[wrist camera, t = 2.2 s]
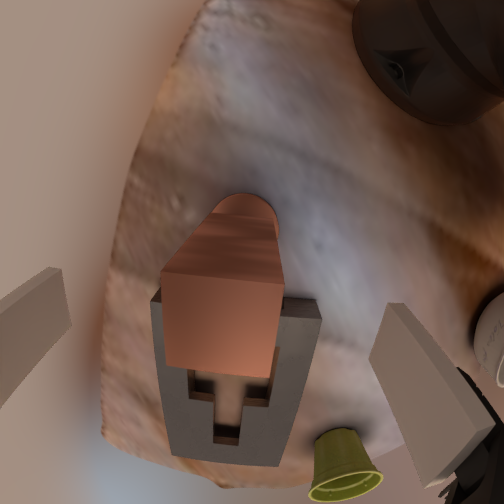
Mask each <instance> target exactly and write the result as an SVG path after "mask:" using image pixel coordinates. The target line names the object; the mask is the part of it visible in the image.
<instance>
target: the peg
mask: <svg viewBox="0 0 504 504" xmlns="http://www.w3.org/2000/svg"><path fill="white" fill-rule="evenodd" d="M278 235H279V226H278V221H277V217H276V214H275V212H274V210H273V209H272V207H271V206H270V205H269V204H268V203H267V202H266V201H265V200H264V199H262V198H261V197H259V196H256V195H253V194H249V193H238V194H234V195H231V196H228V197H227V198H225V199H223V200H222V201H221V202H220V203H219V204H218V205H217V206H216V207H215V208H214V210H213V211H212V212H211V213H210V214H209V215H208V216H207V217H206V218H205V220H204V221H203V222H202V223H201V224H200V225H199V226H198V228H197V229H196V230H195V231H194V232H193V233H192V235H191V236H190V237H189V238H188V239H187V240H186V242H185V243H184V244H183V245H182V246H181V247H180V249H179V250H178V251H177V252H176V253H175V255H174V256H173V257H172V258H171V259H170V261H169V262H168V263H167V264H166V265H165V267H164V268H163V269H162V270H161V297H162V316H163V331H164V344H165V355H166V365H167V366H173V367H179V368H186V369H192V370H199V371H206V372H214V373H222V374H231V375H241V376H252V377H265V378H269V376H270V371H271V365H272V360H273V354H274V348H275V342H276V336H277V330H278V324H279V318H280V312H281V305H282V299H283V292H284V286H285V283H284V277H283V272H282V266H281V260H280V254H279V249H278V243H277V239H278Z"/></svg>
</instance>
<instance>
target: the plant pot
mask: <svg viewBox="0 0 504 504" xmlns="http://www.w3.org/2000/svg"><path fill="white" fill-rule="evenodd" d="M382 480H383V474H382V473H381V472H380V471H378V470H377V469H376V467H375V466H374V465H373V464H372V462H371V460H370V458H369V456H368V454H367V452H366V450H365V448H364V446H363V444H362V442H361V440H360V438H359V436H358V434H357V432H356V431H355V430H348V429H346V428H339V429H335V430H331V431H328V432H326V433H324V434H323V435H322V436H321V437H320V438H319V439H318V440H316V441H315V457H314V480H313V482H312V486H311V489H310V490H309V493H308V496H309V498H310V499H312V500H314V501H318V502H336V501H343V500H347V499H351V498H354V497H357V496H360V495H362V494H365V493H367V492H368V491H370V490H372V489H374V488H375V487H376V486H378V485H379V484H380V483H381V481H382Z"/></svg>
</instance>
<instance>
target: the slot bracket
mask: <svg viewBox="0 0 504 504" xmlns="http://www.w3.org/2000/svg"><path fill="white" fill-rule="evenodd" d="M150 308H151V320H152V331H153V341H154V351H155V359H156V367H157V375H158V382H159V388H160V395H161V401H162V407H163V413H164V419H165V424H166V429H167V434H168V439H169V444H170V449H171V453H172V455H174V456H179V457H185V458H190V459H196V460H203V461H210V462H218V463H227V464H237V465H250V466H271V467H278V466H279V463H280V460H281V458H282V455H283V452H284V449H285V446H286V443H287V440H288V438H289V435H290V432H291V429H292V426H293V422H294V419H295V416H296V413H297V410H298V407H299V403H300V400H301V397H302V393H303V390H304V387H305V383H306V380H307V376H308V373H309V369H310V365H311V362H312V358H313V354H314V350H315V346H316V342H317V339H318V335H319V330H320V326H321V322H322V317H321V314H320V311H319V308H318V305H317V303H316V300H312V299H299V298H287V297H283V300H282V306H281V312H280V318H279V324H278V330H277V336H276V342H275V349H274V355H273V360H272V366H271V372H270V377H269V383H268V388H267V393H266V399H257V398H245V397H244V401H243V410H242V418H241V426H240V435H239V439H238V438H228V437H219V436H214V411H215V394H209V393H202V392H195V370H192V369H186V368H179V367H173V366H167V365H166V355H165V344H164V331H163V316H162V297H161V287H160V288H159V290H158V291H157V292H156V294H155V295H154V297H153V298H152V299H151V301H150Z"/></svg>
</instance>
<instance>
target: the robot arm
mask: <svg viewBox="0 0 504 504" xmlns="http://www.w3.org/2000/svg"><path fill="white" fill-rule="evenodd" d="M352 29H353V37H354V42H355V45H356V48H357V51H358V54H359V56H360V58H361V60H362V62H363V64H364V66H365V68H366V70H367V71H368V73H369V74H370V76H371V77H372V79H373V80H374V82H375V83H376V84H377V85H378V87H379V88H380V89H381V90H382V91H383V92H384V93H385V94H386V95H387V96H388V97H389V98H390V99H391V100H392V101H393V102H394V103H395V104H396V105H398V106H399V107H400V108H401V109H403V110H404V111H406V112H407V113H409V114H411V115H412V116H414V117H416V118H418V119H420V120H422V121H425V122H428V123H431V124H435V125H443V126H448V125H461V124H467V123H470V122H473V121H475V120H477V119H479V118H480V117H482V116H483V115H484V114H485V113H486V112H488V111H489V110H491V109H493V108H494V107H496V106H497V105H498V104H500V103H501V102H503V101H504V0H360V1H359V3H358V4H357V6H356V8H355V11H354V15H353V22H352ZM71 326H72V324H71V319H70V315H69V310H68V305H67V300H66V294H65V289H64V283H63V277H62V270H61V269H58V268H52V267H48V268H46V269H45V270H43V271H42V272H40V273H39V274H37V275H36V276H34V277H33V278H31V279H30V280H28V281H27V282H25V283H24V284H22V285H21V286H19V287H18V288H17V289H15V290H14V291H12V292H11V293H10V294H8V295H7V296H5V297H4V298H3V299H1V300H0V408H1V407H2V405H3V404H4V403H5V402H6V401H7V399H8V398H9V397H10V396H11V394H12V393H13V392H14V391H15V389H16V388H17V387H18V386H19V385H20V383H21V382H22V381H23V380H24V379H25V377H26V376H27V375H28V374H29V373H30V371H31V370H32V369H33V368H34V367H35V366H36V364H37V363H38V362H39V361H40V360H41V359H42V358H43V356H44V355H45V354H46V353H47V352H48V351H49V350H50V348H52V346H53V345H54V344H55V343H56V342H57V341H58V340H59V339H60V338H61V336H62V335H63V334H64V333H65V332H66V331H67V330H68V329H69V328H70V327H71ZM369 361H370V363H371V365H372V368H373V370H374V372H375V374H376V376H377V378H378V380H379V383H380V385H381V387H382V389H383V391H384V394H385V396H386V398H387V400H388V403H389V405H390V407H391V409H392V412H393V414H394V416H395V419H396V421H397V423H398V426H399V428H400V430H401V433H402V435H403V438H404V440H405V442H406V445H407V447H408V450H409V452H410V455H411V457H412V460H413V462H414V465H415V467H416V470H417V473H418V475H419V478H420V481H421V483H422V486H423V488H427V487H430V486H433V485H436V484H439V483H442V482H444V481H445V480H446V479H447V478H448V477H449V476H450V475H451V474H452V473H453V472H455V474H456V476H457V478H456V479H455V480H454V481H453V482H452V483H451V484H450V485H448V486H447V487H446V488H445V489H444V490H443V491H441V493H440V494H439V496H438V497H442V496H443V495H444V494H445V493H447V492H448V491H449V493H448V495H447V496H446V497H445V499H446V501H445V504H504V423H503V422H502V421H501V419H500V418H499V416H498V415H497V413H496V412H495V410H494V409H493V407H492V406H491V405H490V403H489V402H488V400H487V399H486V398H485V396H484V395H483V396H482V392H481V391H480V389H479V388H478V387H476V384H475V383H474V381H473V380H472V379H471V377H470V376H469V375H468V374H467V373H465V372H464V371H463V370H461V369H460V368H459V367H455V365H454V364H453V363H452V361H451V360H450V359H449V358H448V356H447V355H446V354H445V352H444V351H443V350H442V349H441V347H440V346H439V345H438V344H437V342H436V341H435V340H434V339H433V337H432V336H431V335H430V334H429V333H428V331H427V330H426V329H425V328H424V327H423V325H422V324H421V323H420V322H419V321H418V319H417V318H416V317H415V316H414V315H413V313H412V312H411V311H410V310H409V309H408V308H407V306H406V305H405V304H404V303H387V306H386V309H385V312H384V316H383V319H382V322H381V325H380V328H379V331H378V334H377V337H376V340H375V342H374V345H373V348H372V351H371V353H370V356H369Z"/></svg>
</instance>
